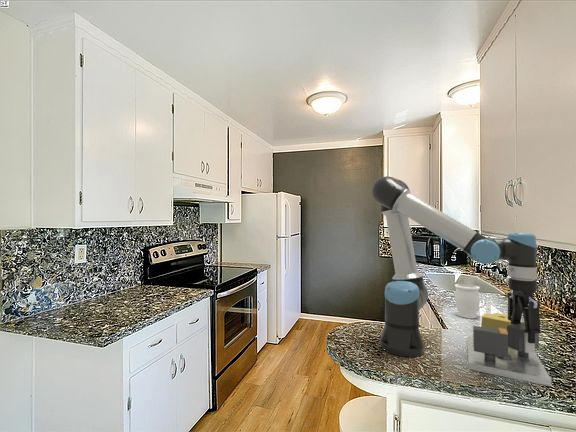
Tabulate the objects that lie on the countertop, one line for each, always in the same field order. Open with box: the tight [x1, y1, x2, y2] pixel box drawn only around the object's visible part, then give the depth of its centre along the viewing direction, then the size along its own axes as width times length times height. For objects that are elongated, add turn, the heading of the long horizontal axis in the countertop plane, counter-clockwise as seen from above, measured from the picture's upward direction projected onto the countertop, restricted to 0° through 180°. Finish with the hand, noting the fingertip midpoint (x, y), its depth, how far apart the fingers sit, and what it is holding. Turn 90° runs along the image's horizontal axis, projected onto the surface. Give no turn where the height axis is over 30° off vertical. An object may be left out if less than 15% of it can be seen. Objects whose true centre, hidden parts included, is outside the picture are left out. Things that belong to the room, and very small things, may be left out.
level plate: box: [466, 337, 552, 387], centre depth 101 cm, size 20×24×3 cm
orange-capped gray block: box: [507, 321, 540, 357], centre depth 101 cm, size 9×4×10 cm, turn 108°
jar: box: [454, 283, 481, 319], centre depth 150 cm, size 11×10×15 cm
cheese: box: [480, 312, 512, 330], centre depth 118 cm, size 10×11×10 cm
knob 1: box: [472, 325, 508, 362], centre depth 98 cm, size 9×4×10 cm, turn 61°
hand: (523, 347), depth 101 cm, fingers closed on orange-capped gray block, 6 cm apart
